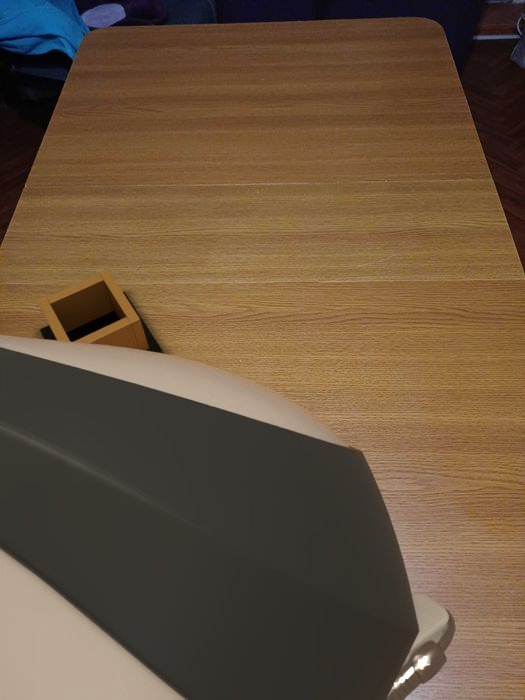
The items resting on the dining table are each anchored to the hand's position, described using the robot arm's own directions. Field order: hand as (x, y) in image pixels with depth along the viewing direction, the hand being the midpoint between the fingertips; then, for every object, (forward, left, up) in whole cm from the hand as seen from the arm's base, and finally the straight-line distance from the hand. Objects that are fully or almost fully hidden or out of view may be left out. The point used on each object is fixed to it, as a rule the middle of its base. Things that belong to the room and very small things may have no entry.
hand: (193, 647), depth 34 cm
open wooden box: (+6, +43, -25) cm, 51 cm away
